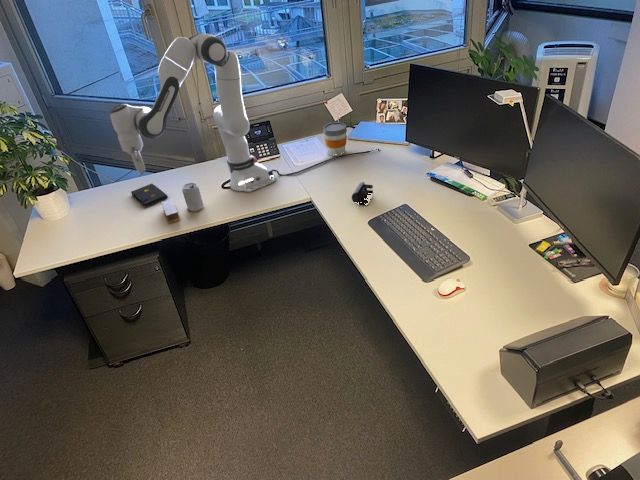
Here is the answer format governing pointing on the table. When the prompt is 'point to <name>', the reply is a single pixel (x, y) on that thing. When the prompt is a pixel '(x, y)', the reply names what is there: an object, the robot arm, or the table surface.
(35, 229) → the table surface
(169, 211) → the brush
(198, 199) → the can
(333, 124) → the reusable coffee cup
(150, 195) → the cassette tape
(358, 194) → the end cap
